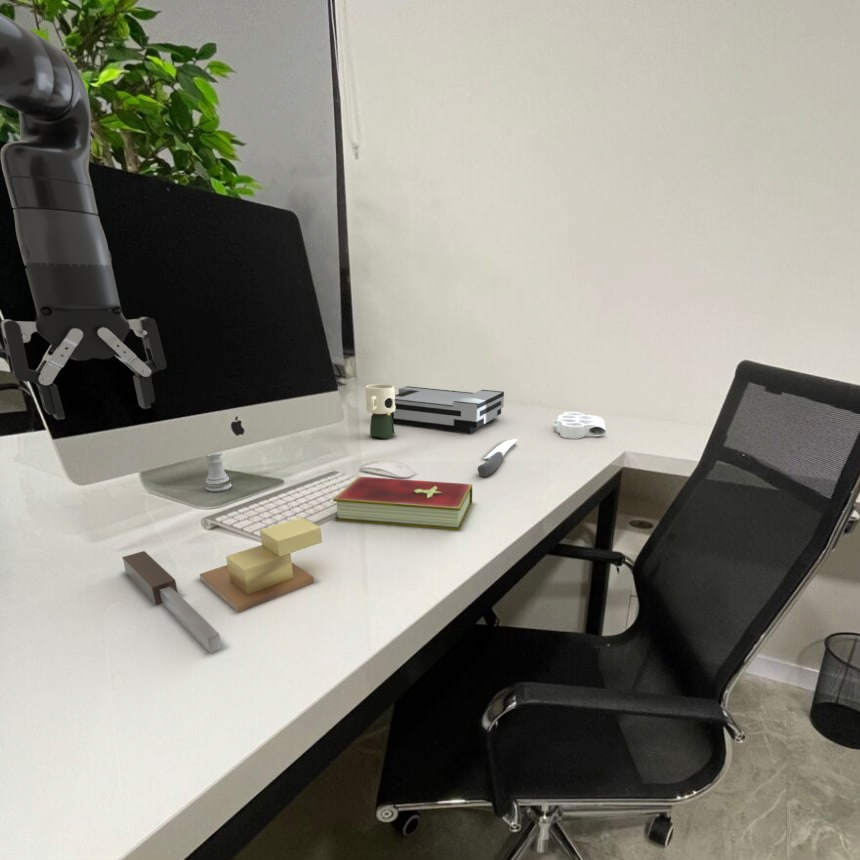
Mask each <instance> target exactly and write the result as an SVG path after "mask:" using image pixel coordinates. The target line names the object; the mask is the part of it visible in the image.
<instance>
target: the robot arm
mask: <svg viewBox="0 0 860 860" xmlns="http://www.w3.org/2000/svg"><path fill="white" fill-rule="evenodd" d="M0 105H1V106H3V107H6V108H8V109H11V110H13V111H16V112H17V113H18V117H19V134H20V135H19V136H20V137H19V140H16V141H15V140H14V141H11V142H7V143H5V144H4V145H3V146H2V147H1V149H0V163H1V170H2V173H3V177H4V181H5V184H6V188H7V192H8V196H9V199H10V204H11V208H12V212H13V217H14V226H15V234H16V239H17V242H18V246H19V250H20V254H21V258H22V262H23V266H24V269H25V274H26V277H27V280H28V285H29V288H30V289H29V290H30V292H31V296H32V300H33V303H34V307H35V312H36V315H35V319H34V321H23V320H22V321H21V320H19V321H18V320H17V321H16V320H12V319H7V318H6V319H5V318H4V319H2V320H1V321H0V330H1V335H2V339H3V340H2V341H3V344H4V349H5V354H6V359H7V363H8V369H9V373H10V375H11V376H12V377H14V378H15V379H16V380H18V381H21V382H28V383H32V384H35V385H36V386H37V389H38V393H39V397H40V401H41V404H42V408H43V410H44V411H45V412H46V413H47V414H48V415H49V416H53V418H54V419H55V420H65V419H66V416H65V415H66V414H65V411H64V407H63V403H62V400H61V396H60V392H59V389H58V385H57V384H55V383H54V380H55V378H56V377H57V375H58V374H59V372H60V371H61V370H62V369H64V367H65V365H66V364H67V362H68V361H69V359H71V360H75V361H77V362H78V361H88V360H91V359H99V360H110V359H111V358H112V357H115V358H116V359H118V360H119V361H120V362H121V363H123V364H124V365H125V366H127V367H128V368H129V369H130V370H131V371H132V372H133V373H134V375H132V378H133V384H134V388H135V392H136V399H137V403H138V406H139V407H140V408H142V409H145V410H146V409H152V404H154V403H155V401H156V396H155V395H156V394H155V391H154V385H153V381H152V380H153V379H152V376H153V374H154V373H157V372H160V371H164V370H165V369H166V368H167V367H168V364H167V361H166V357H165V353H164V349H163V345H162V341H161V337H160V332H159V329H158V325H157V322H156V320H155V319H153V318H152V317H147V316H139V317H138V318H132V319H126V317H125V316H124V314H123V311H122V307H121V302H120V297H119V293H118V288H117V283H116V278H115V274H114V270H113V263H112V260H113V258H112V253H111V252H110V250H109V246H108V245H109V244H108V241H107V237H106V234H105V232H104V229H103V225H102V223H101V219H100V216H99V211H98V206H97V201H96V197H95V192H94V188H93V184H92V183H93V182H92V179H91V176H90V156H91V135H92V134H91V132H92V131H91V129H92V123H91V122H92V121H91V120H92V115H91V114H92V113H91V103H90V97H89V93H88V91H87V87H86V84H85V81H84V79H83V77H82V75H81V72H80V70H79V69H78V68H77V65H76V64H75V62H74V61H73V60H72V58H71V57H70V56H69V54H67V53H66V52H64V50H63V49H61V48H60V47H58V45H56V44H54V43H52V42H50V41H49V40H47V39H45V38H44V37H42V36H41V35H39V34H37V33H35V32H33V31H31V30H30V29H29V28H26V27H24V25H21V24H19V23H18V22H16V21H15V20H13V19H11V18H9V17H8V16H6V15H4V14H3V13H1V12H0ZM130 330H132V331H133V332H134V334H135V336H137V337H138V338H141V340H142V344H143V347H144V352H145V355H146V361H142V360H141V358H139V357H138V356H137V354H136V353H134V351H132V350H131V349H130V348H129V347H128V346H127V345H126V344H125V343H124V341H125V339H126V337H127V335H128V334H129V332H130ZM33 333H37V334H38V335H39V336H40V337H42V338H43V340H45V341H46V342H47V343H48V344H50V345H49V346H48V349H47V350H46V352H45V353H44V355H43V356H42V359H41V361H40V363H39V365H38V367H37V368H36V369H31V368H29V364H28V358H27V354H26V348H25V345H24V344H25V343H29V342H30V341H31V339H32V334H33Z"/></svg>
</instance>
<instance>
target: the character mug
mask: <svg viewBox="0 0 860 860" xmlns="http://www.w3.org/2000/svg"><path fill="white" fill-rule="evenodd" d="M395 395H396V387H395V385H394V384H387V383H374V384H367V385H365V400H366V401H365V402H366V403H365V404H366V411H367V413H370V414H371V416H370V427H369V436H371V437H375V438H378V439H388V438H389V439H390V438H393V437H394V436H396V433H395V426H394V424H393V420H392V416H391V413H392V412H394V411H395V409H396V406H395Z"/></svg>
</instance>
